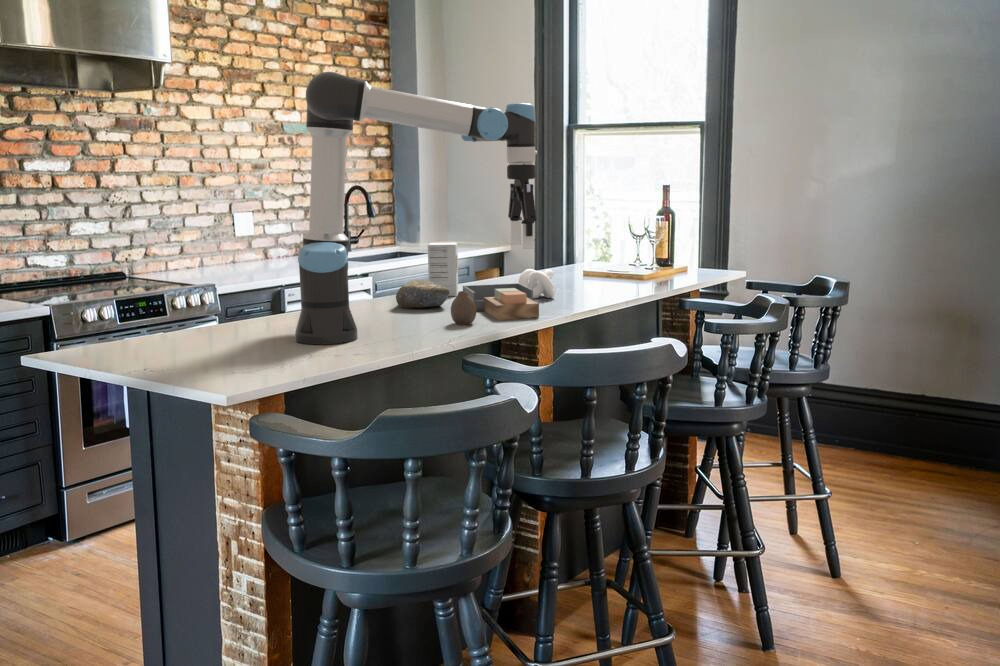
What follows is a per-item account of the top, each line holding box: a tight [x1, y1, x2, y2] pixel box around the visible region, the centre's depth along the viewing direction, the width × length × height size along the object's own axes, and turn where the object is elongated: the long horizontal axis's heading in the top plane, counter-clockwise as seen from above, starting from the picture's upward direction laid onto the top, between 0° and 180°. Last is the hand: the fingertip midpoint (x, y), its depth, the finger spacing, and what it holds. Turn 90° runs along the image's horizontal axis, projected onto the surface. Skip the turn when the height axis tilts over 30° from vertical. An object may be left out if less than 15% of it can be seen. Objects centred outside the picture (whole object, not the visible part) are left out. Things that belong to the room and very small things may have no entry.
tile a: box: [500, 291, 527, 304], centre depth 256 cm, size 6×6×2 cm
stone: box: [395, 278, 449, 309], centre depth 274 cm, size 14×19×8 cm
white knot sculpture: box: [518, 268, 556, 300], centre depth 290 cm, size 11×12×9 cm
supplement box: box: [427, 241, 459, 297], centre depth 299 cm, size 10×9×17 cm
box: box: [462, 282, 534, 312], centre depth 275 cm, size 18×15×6 cm
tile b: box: [495, 288, 520, 300], centre depth 263 cm, size 6×6×2 cm
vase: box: [450, 290, 477, 326], centre depth 245 cm, size 7×7×9 cm
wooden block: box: [484, 297, 540, 321], centre depth 260 cm, size 12×16×4 cm
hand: (522, 246), depth 244 cm, fingers open, 11 cm apart
